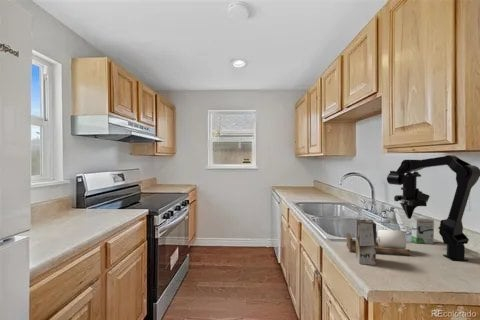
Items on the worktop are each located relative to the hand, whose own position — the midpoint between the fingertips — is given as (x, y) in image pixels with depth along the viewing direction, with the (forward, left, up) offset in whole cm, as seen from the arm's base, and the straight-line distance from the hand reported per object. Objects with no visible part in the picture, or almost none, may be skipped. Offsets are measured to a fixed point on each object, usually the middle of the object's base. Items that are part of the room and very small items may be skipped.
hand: (409, 218), depth 147 cm
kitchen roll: (-9, +13, -12) cm, 20 cm away
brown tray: (-8, +19, -13) cm, 24 cm away
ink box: (+7, -10, -13) cm, 18 cm away
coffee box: (-23, +29, -13) cm, 39 cm away
